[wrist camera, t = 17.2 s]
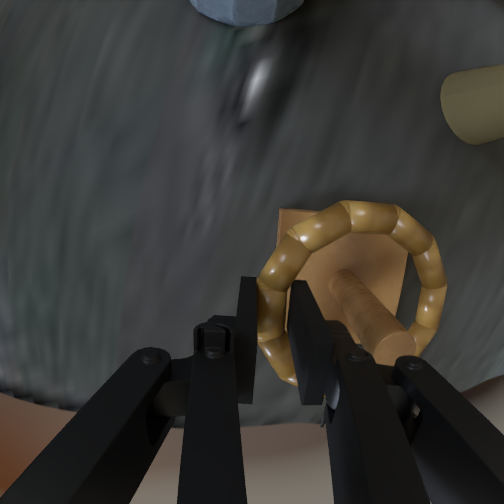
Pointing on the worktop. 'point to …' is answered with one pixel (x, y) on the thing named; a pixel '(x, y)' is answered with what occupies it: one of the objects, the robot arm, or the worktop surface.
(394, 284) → the wooden peg stand
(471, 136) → the cork
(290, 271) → the ring
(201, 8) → the moka pot
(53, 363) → the worktop surface
